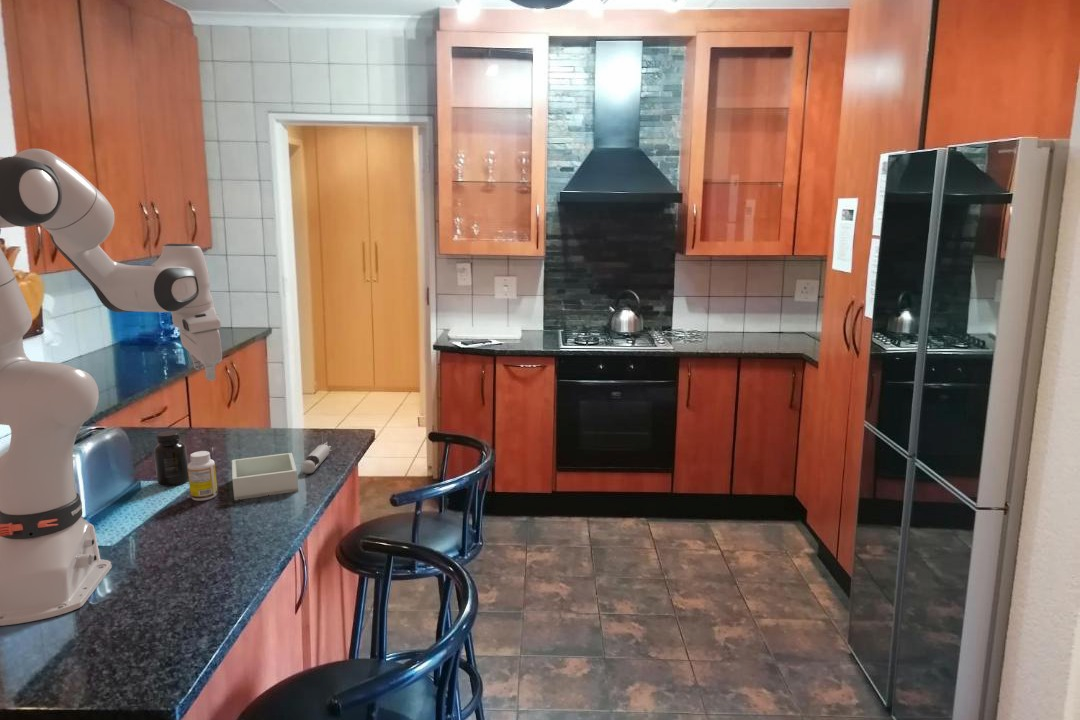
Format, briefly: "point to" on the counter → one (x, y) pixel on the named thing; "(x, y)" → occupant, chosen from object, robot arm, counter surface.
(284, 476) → the bin
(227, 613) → the counter surface
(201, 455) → the supplement bottle
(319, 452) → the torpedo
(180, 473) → the supplement bottle
